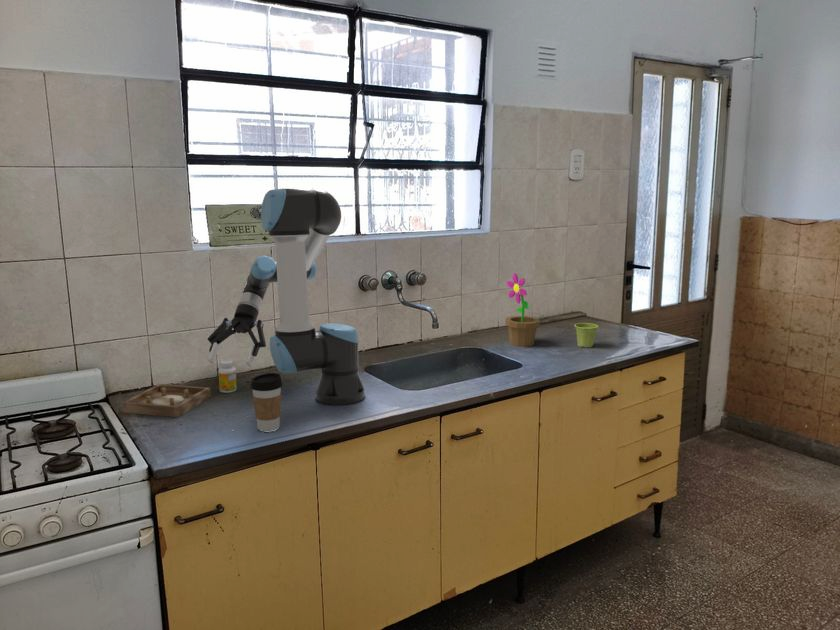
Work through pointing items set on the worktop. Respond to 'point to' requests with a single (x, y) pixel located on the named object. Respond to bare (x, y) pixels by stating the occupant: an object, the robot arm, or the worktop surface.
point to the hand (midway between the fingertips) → (229, 362)
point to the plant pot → (585, 334)
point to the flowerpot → (521, 318)
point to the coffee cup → (267, 400)
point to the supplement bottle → (227, 377)
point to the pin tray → (166, 400)
